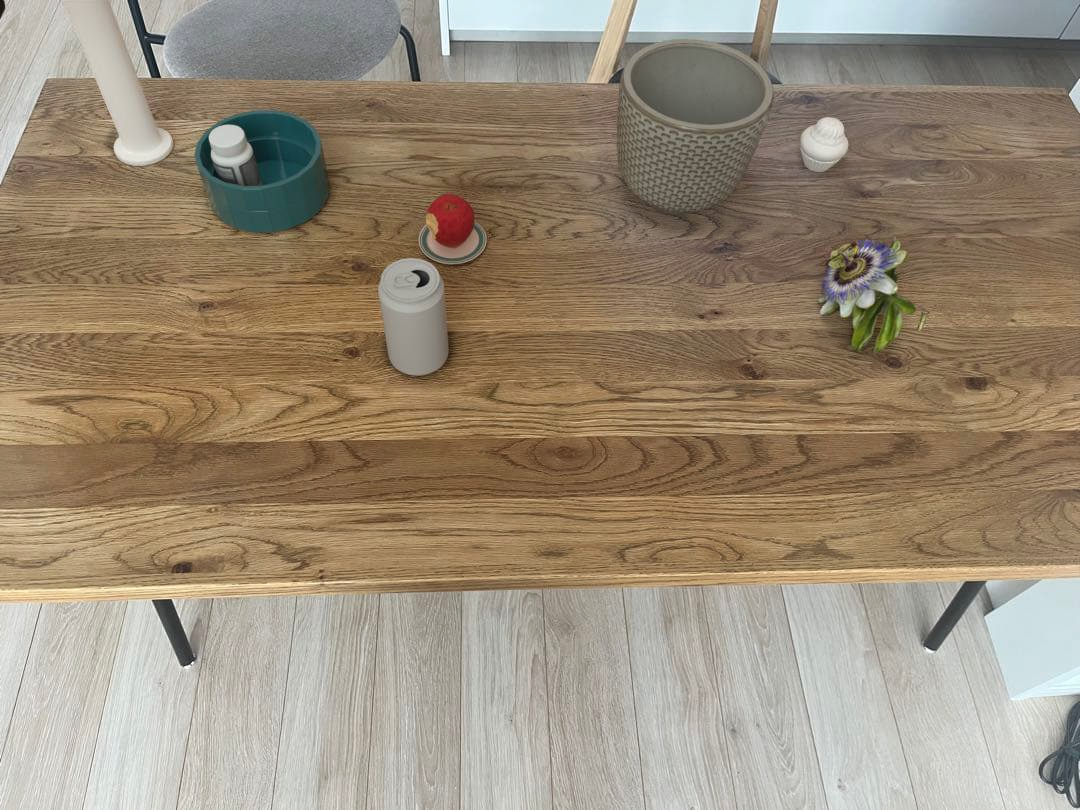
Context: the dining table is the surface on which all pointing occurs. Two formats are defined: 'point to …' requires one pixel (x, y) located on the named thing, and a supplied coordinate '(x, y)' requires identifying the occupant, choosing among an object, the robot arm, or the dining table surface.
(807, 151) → the muffin
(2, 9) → the robot arm
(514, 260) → the dining table surface
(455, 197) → the apple
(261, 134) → the teal pet bowl
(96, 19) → the candle
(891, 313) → the passion flower
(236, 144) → the pill bottle
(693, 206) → the planter
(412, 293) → the beverage can
